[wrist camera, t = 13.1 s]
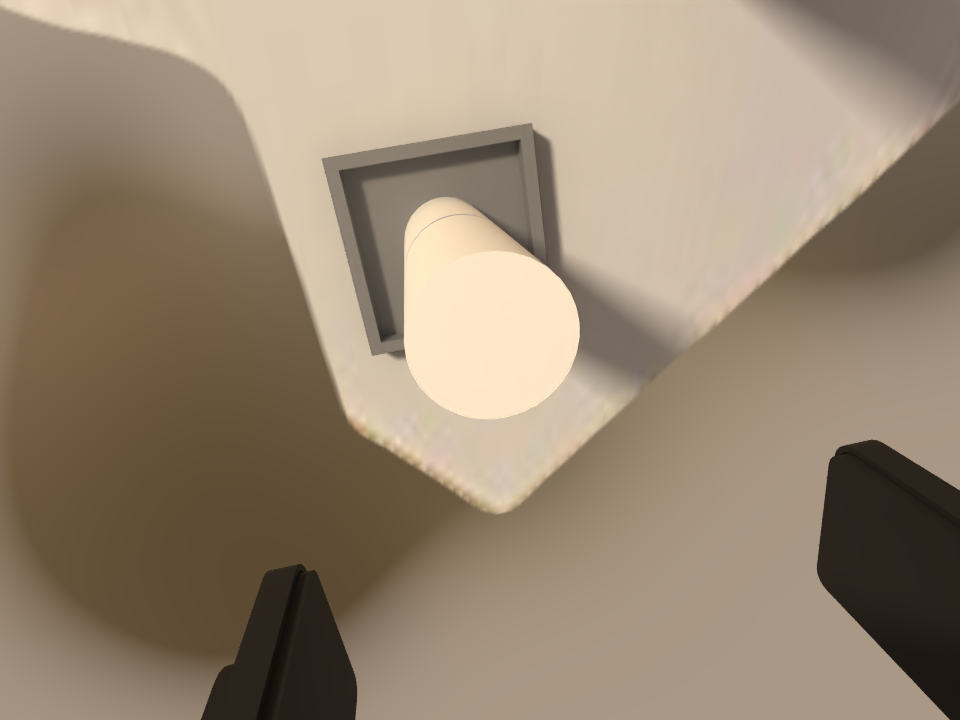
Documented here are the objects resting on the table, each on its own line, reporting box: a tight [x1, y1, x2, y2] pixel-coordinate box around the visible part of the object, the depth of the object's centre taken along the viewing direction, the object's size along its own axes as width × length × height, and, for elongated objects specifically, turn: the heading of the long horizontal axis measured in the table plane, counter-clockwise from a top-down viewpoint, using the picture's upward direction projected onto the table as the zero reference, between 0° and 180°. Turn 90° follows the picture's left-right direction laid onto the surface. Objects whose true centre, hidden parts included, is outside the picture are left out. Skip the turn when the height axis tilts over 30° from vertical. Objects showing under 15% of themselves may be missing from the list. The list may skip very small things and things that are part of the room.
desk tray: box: [322, 123, 547, 356], centre depth 44 cm, size 16×16×2 cm
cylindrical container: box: [404, 197, 580, 419], centre depth 33 cm, size 7×7×25 cm
